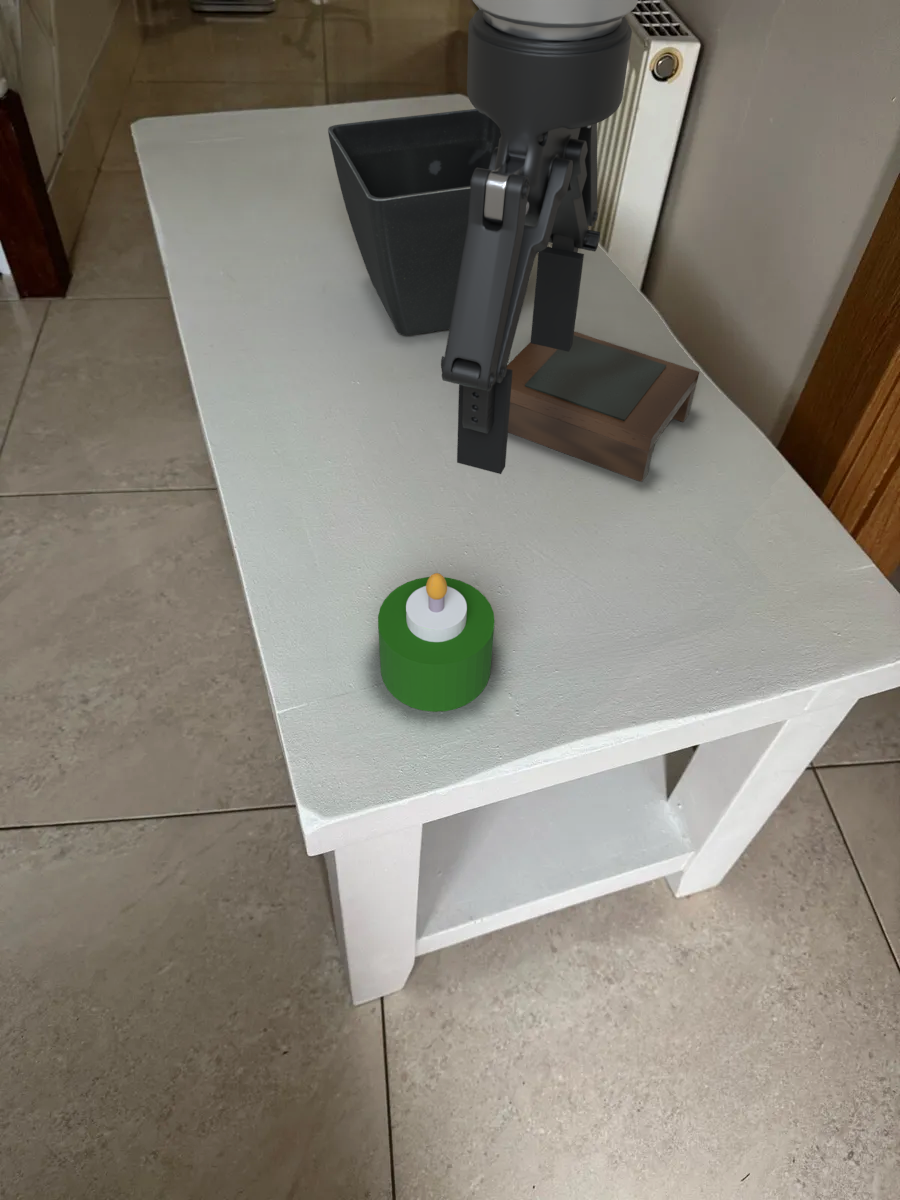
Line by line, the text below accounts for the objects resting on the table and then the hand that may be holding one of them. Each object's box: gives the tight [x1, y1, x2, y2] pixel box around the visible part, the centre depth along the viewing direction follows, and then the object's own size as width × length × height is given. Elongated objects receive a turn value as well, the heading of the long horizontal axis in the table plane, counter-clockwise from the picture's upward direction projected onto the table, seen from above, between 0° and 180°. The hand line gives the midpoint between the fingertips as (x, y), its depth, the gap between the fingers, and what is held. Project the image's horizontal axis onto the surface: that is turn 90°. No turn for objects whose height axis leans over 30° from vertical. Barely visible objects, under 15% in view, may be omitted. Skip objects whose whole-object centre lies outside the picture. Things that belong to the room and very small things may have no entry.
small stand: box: [507, 330, 700, 483], centre depth 89 cm, size 16×12×5 cm
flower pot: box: [327, 108, 537, 336], centre depth 99 cm, size 19×19×17 cm
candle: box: [377, 572, 496, 713], centre depth 66 cm, size 8×8×10 cm
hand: (518, 400), depth 58 cm, fingers open, 13 cm apart
